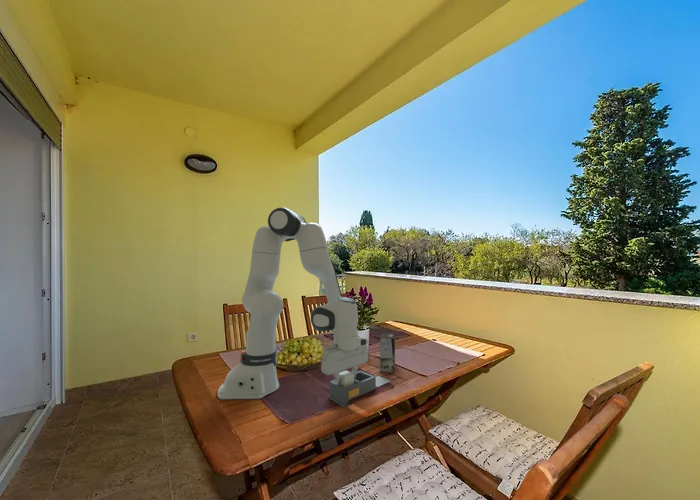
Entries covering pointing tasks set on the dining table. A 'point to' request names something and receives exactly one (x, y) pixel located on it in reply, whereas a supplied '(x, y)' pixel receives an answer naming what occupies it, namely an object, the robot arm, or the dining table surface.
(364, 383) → the slot rack
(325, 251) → the robot arm
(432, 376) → the dining table surface
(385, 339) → the coffee box
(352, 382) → the peg
